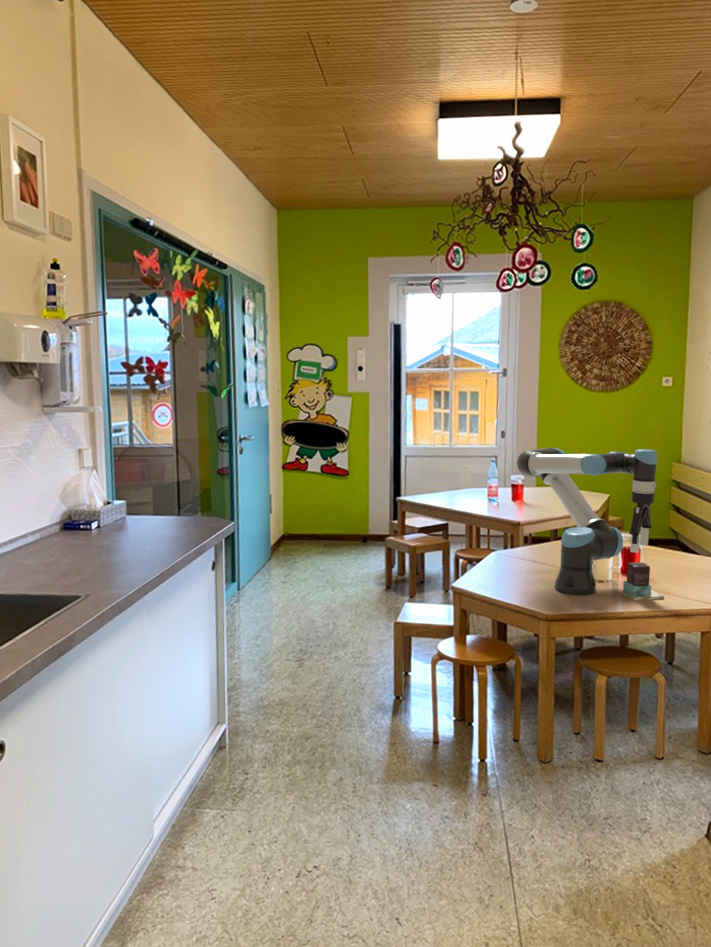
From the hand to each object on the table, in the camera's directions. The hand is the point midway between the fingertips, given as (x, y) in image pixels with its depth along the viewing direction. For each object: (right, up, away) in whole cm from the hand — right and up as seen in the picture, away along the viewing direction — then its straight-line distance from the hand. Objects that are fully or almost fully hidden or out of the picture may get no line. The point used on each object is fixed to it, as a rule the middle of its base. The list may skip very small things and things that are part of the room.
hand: (639, 548), depth 263 cm
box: (0, -13, +2) cm, 13 cm away
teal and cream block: (+2, -18, +3) cm, 18 cm away
